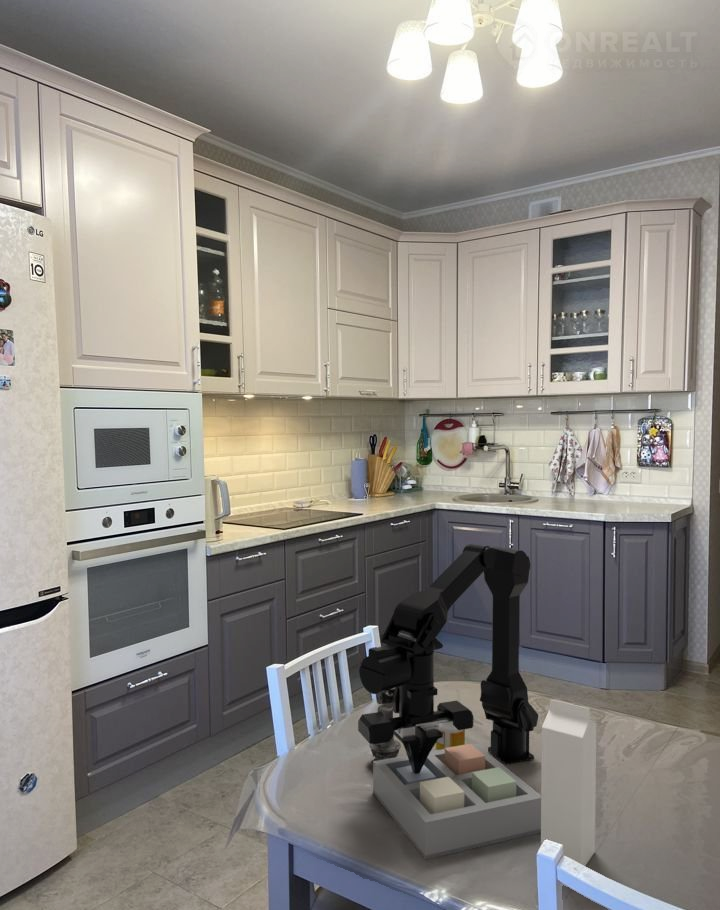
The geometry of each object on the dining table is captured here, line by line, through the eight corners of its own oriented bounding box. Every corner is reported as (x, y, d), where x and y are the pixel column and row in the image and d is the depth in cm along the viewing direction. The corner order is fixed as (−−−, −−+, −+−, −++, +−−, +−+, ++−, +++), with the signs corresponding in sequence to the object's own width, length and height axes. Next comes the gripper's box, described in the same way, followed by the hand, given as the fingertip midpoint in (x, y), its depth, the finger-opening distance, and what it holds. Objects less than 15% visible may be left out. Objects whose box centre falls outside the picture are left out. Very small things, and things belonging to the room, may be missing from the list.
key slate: (422, 787, 117) (422, 763, 116) (436, 802, 112) (436, 776, 112) (395, 793, 115) (395, 768, 115) (408, 808, 110) (408, 782, 110)
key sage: (498, 792, 111) (498, 767, 111) (516, 808, 107) (516, 781, 106) (471, 798, 109) (471, 772, 109) (488, 814, 105) (488, 786, 105)
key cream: (448, 803, 108) (448, 776, 108) (464, 819, 103) (464, 791, 103) (419, 808, 106) (419, 782, 106) (434, 825, 101) (434, 797, 101)
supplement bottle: (466, 756, 130) (467, 705, 130) (461, 769, 125) (462, 716, 125) (439, 752, 132) (439, 702, 132) (432, 764, 127) (433, 712, 127)
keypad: (475, 773, 124) (476, 743, 123) (542, 832, 105) (543, 797, 105) (373, 792, 116) (373, 761, 116) (425, 859, 98) (425, 822, 98)
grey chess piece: (398, 773, 124) (398, 707, 123) (366, 769, 125) (366, 704, 125) (402, 758, 129) (403, 695, 129) (372, 755, 130) (372, 692, 130)
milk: (555, 838, 103) (556, 692, 103) (595, 852, 100) (597, 701, 100) (539, 857, 99) (541, 704, 98) (581, 873, 95) (583, 714, 95)
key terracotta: (470, 767, 120) (470, 743, 120) (485, 780, 115) (485, 756, 115) (444, 772, 118) (444, 748, 118) (458, 785, 113) (459, 760, 113)
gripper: (443, 658, 124) (443, 743, 124) (346, 670, 117) (346, 760, 118) (475, 678, 113) (474, 771, 114) (371, 692, 107) (370, 791, 107)
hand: (416, 772), depth 113 cm, fingers closed, pressing on key slate
